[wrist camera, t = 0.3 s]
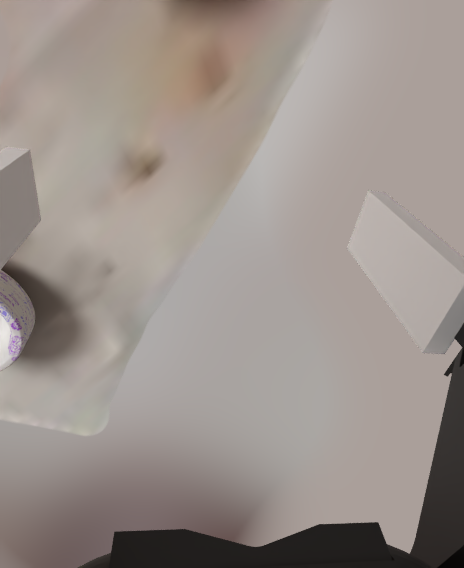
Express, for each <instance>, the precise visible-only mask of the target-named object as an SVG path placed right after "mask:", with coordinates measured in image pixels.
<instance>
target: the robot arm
mask: <svg viewBox="0 0 464 568" xmlns="http://www.w3.org/2000/svg"><path fill="white" fill-rule="evenodd" d="M40 221H41V217H40V210H39V204H38V198H37V191H36V185H35V179H34V172H33V166H32V159H31V153H30V149H22V148H13V147H6V148H4V149H2V150H1V151H0V270H1V269H2V268H3V266H4V265H5V264H6V263H7V261H8V260H9V259H10V258H11V256H12V255H13V254H14V253H15V252H16V250H17V249H18V248H19V247H20V245H21V244H22V243H23V242H24V240H25V239H26V238H27V237H28V235H29V234H30V233H31V232H32V231H33V229H34V228H35V227H36V226H37V224H38V223H39V222H40ZM347 249H348V250H349V252H350V253H351V254H352V256H353V257H354V259H355V260H356V261H357V263H358V264H359V266H360V267H361V268H362V270H363V271H364V272H365V274H366V275H367V277H368V278H369V279H370V281H371V282H372V284H373V285H374V286H375V288H376V289H377V290H378V292H379V293H380V294H381V296H382V297H383V299H384V300H385V302H386V303H387V304H388V306H389V307H390V309H391V310H392V311H393V313H394V314H395V315H396V317H397V318H398V319H399V321H400V322H401V324H402V325H403V327H404V328H405V329H406V331H407V332H408V333H409V335H410V336H411V338H412V339H413V340H414V342H415V343H416V344H417V346H418V347H419V349H420V350H421V351H422V353H435V354H445V353H446V351H447V350H448V348H449V347H450V345H451V344H452V342H453V341H454V339H456V340H457V342H458V343H459V344H460V345H461V346H462V347H463V348H462V349H461V351H460V352H459V353H458V355H457V356H456V358H455V359H454V361H453V362H452V364H451V365H450V366H449V368H448V369H447V371H446V372H445V374H444V375H446V376H448V375H449V374H450V373H452V376H451V381H450V385H449V390H448V395H447V399H446V403H445V408H444V412H443V417H442V421H441V426H440V431H439V435H438V439H437V444H436V448H435V453H434V457H433V462H432V466H431V471H430V475H429V480H428V484H427V489H426V493H425V497H424V502H423V507H422V512H421V516H420V520H419V525H418V529H417V533H416V538H415V542H414V545H413V547H412V550H411V552H410V554H408V553H407V552H405V551H402V550H400V549H397V548H395V547H392V546H390V545H387V544H386V541H385V539H384V537H383V534H382V531H381V528H380V526H379V523H377V522H375V523H348V524H319V525H316V526H314V527H311V528H309V529H306V530H303V531H301V532H298V533H296V534H293V535H290V536H288V537H285V538H283V539H280V540H277V541H275V542H272V543H269V544H267V545H264V546H261V547H251V546H246V545H243V544H239V543H235V542H231V541H228V540H223V539H220V538H216V537H212V536H209V535H205V534H201V533H197V532H193V531H189V530H186V529H178V530H150V531H123V532H114V538H113V545H112V551H111V553H109V554H107V555H104V556H101V557H98V558H96V559H94V560H92V561H90V562H88V563H86V564H84V565H82V566H80V567H78V568H464V257H463V256H462V255H461V254H460V253H459V252H457V251H456V250H455V249H454V248H452V247H451V246H450V245H449V244H448V243H446V242H445V241H444V240H443V239H442V238H440V237H439V236H438V235H437V234H435V233H434V232H433V231H432V230H431V229H429V228H428V227H427V226H426V225H424V224H423V223H422V222H421V221H419V220H418V219H417V218H416V217H415V216H414V215H412V214H411V213H410V212H409V211H407V210H406V209H405V208H404V207H403V206H401V205H400V204H399V203H398V202H397V201H395V200H394V199H393V198H392V197H390V196H389V195H388V194H387V193H386V192H379V191H370V190H368V193H367V196H366V198H365V201H364V204H363V206H362V209H361V212H360V214H359V218H358V220H357V223H356V225H355V228H354V231H353V233H352V236H351V239H350V242H349V245H348V247H347Z"/></svg>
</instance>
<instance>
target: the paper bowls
mask: <svg viewBox="0 0 464 568" xmlns="http://www.w3.org/2000/svg"><path fill="white" fill-rule="evenodd" d="M34 325H35V310H34V307H33V304H32V302H31V300H30V298H29V296H28V295H27V293H25V291H24V289H23V288H22V287H21V286H20V285H19V284H18V282H16V281H15V280H14V279H13V278H11V277H10V276H9V275H8V274H6V273H5V272H4V271H2V270H0V371H2V370H3V369H5V368H7V367H9V366H10V365H11V364H13V363H14V362H15V361H16V360H17V358H18V357H19V356H20V354H21V352H22V350H23V348H24V346H25V344H26V342H27V341H28V339H29V337H30V335H31V332H32V330H33V327H34Z"/></svg>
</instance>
